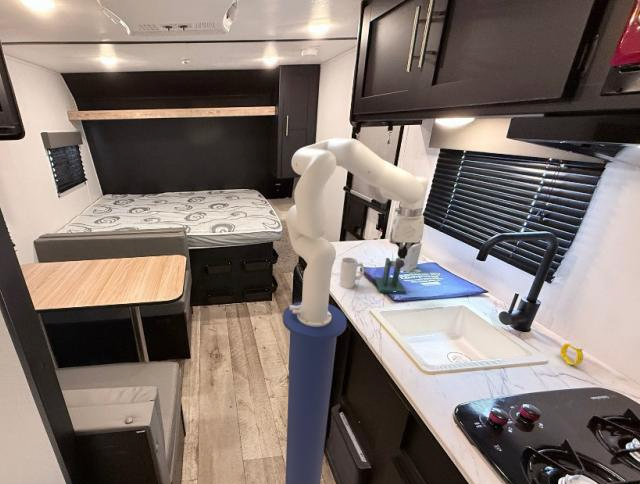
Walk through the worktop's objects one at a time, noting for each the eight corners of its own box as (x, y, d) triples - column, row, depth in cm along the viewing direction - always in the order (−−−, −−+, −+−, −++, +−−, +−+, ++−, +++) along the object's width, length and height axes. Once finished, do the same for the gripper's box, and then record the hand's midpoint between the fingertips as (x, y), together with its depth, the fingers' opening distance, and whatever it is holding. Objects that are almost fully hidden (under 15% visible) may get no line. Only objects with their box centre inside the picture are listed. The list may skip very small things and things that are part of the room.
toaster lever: (405, 268, 121) (405, 259, 121) (396, 267, 122) (397, 259, 122) (395, 267, 133) (396, 260, 133) (387, 267, 134) (388, 260, 134)
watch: (555, 354, 95) (562, 338, 93) (565, 355, 95) (573, 339, 92) (569, 368, 90) (578, 351, 87) (581, 369, 89) (590, 352, 87)
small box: (404, 263, 157) (409, 239, 151) (416, 267, 152) (422, 242, 147) (395, 268, 153) (400, 243, 147) (408, 272, 148) (413, 246, 142)
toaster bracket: (405, 294, 130) (410, 266, 125) (379, 292, 132) (384, 265, 127) (397, 280, 141) (402, 254, 136) (374, 279, 143) (378, 254, 137)
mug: (340, 288, 137) (342, 263, 132) (337, 281, 143) (340, 257, 138) (363, 288, 136) (367, 263, 131) (360, 281, 142) (364, 257, 137)
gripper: (391, 214, 112) (383, 260, 120) (436, 214, 109) (425, 261, 117) (386, 208, 119) (379, 253, 127) (428, 208, 116) (419, 254, 124)
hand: (401, 257), depth 122 cm, fingers closed
